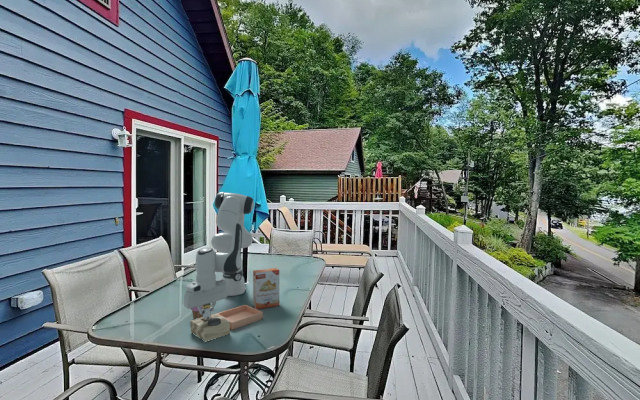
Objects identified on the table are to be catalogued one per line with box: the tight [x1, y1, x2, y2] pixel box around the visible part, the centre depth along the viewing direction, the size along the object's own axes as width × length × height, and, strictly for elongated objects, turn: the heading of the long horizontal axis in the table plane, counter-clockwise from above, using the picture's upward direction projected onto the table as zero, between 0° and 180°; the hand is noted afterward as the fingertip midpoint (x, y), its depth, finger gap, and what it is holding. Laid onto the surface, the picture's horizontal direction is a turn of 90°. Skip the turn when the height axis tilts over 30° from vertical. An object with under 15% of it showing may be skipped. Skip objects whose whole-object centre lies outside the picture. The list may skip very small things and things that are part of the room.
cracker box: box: [252, 267, 280, 310], centre depth 188 cm, size 14×6×21 cm, turn 117°
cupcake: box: [190, 305, 203, 319], centre depth 172 cm, size 9×9×10 cm
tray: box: [215, 304, 264, 331], centre depth 170 cm, size 16×18×4 cm
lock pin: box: [203, 303, 212, 322], centre depth 156 cm, size 4×4×13 cm
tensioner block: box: [190, 313, 231, 341], centre depth 154 cm, size 14×12×7 cm
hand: (206, 312), depth 156 cm, fingers closed on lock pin, 3 cm apart
